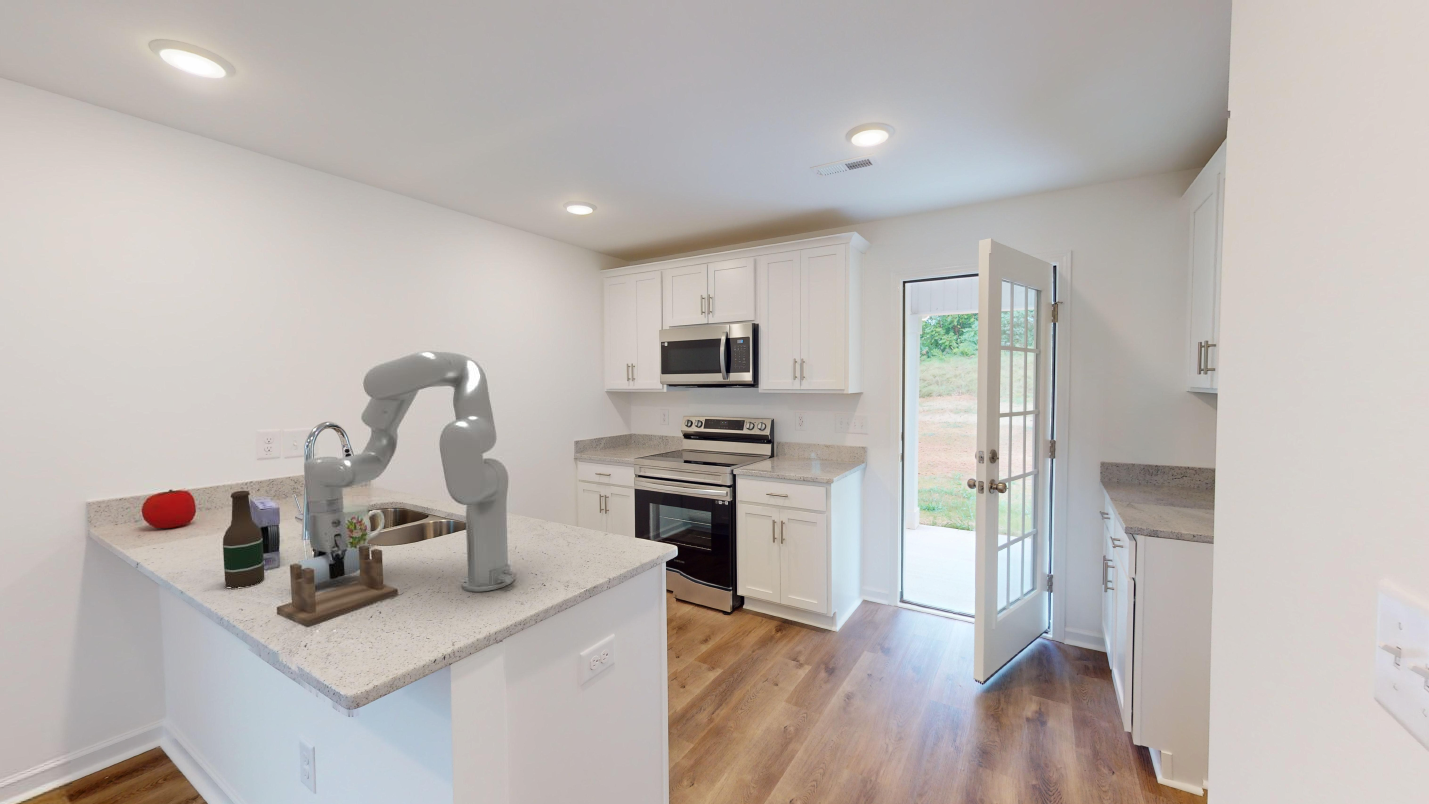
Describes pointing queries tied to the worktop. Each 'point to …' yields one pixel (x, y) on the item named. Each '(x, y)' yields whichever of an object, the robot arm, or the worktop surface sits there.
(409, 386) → the robot arm
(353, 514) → the pitcher
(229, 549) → the beer bottle
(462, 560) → the worktop surface
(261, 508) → the cake pan box
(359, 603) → the roll holder
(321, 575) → the kitchen roll
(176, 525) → the tomato
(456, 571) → the worktop surface
